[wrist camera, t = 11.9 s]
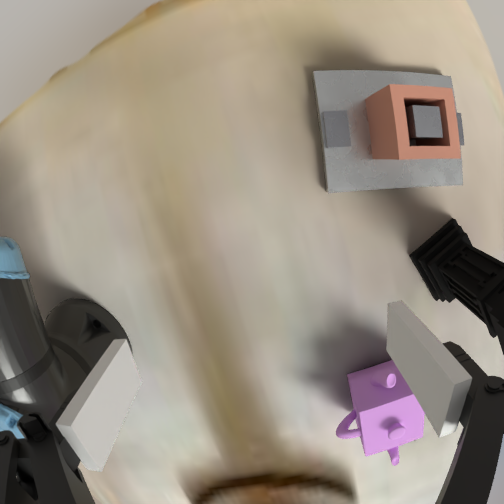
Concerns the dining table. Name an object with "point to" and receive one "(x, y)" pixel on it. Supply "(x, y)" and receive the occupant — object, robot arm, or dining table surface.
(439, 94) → the box
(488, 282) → the chess piece
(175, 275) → the dining table surface
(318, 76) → the stand
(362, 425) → the teapot
